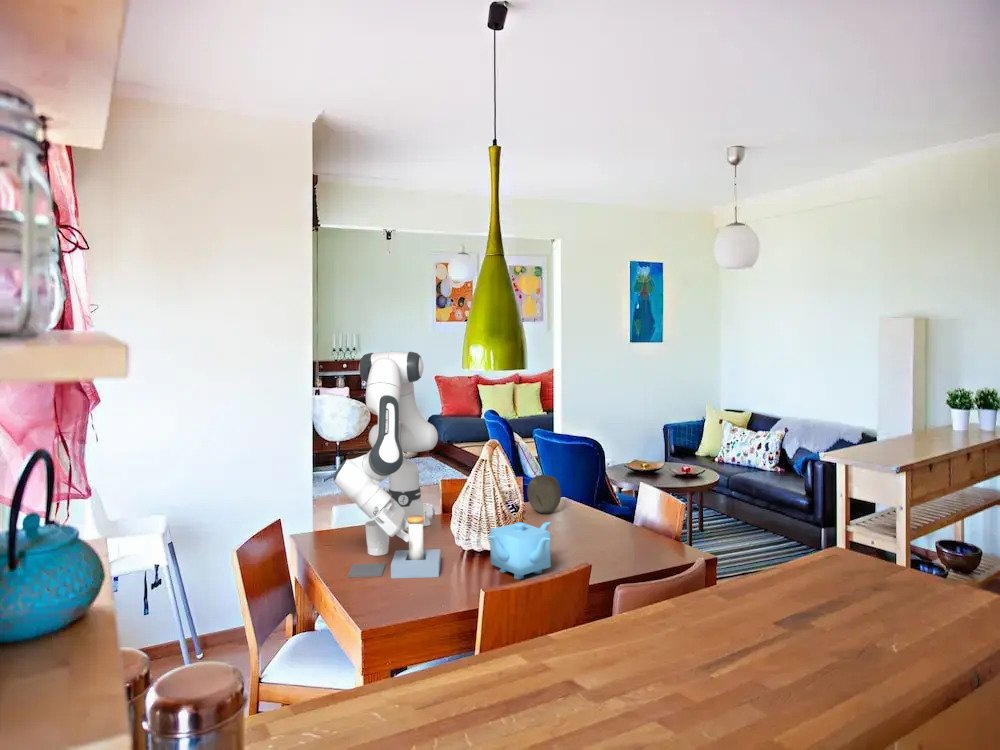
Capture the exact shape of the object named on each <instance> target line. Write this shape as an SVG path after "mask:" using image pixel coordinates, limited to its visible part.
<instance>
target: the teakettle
mask: <svg viewBox="0 0 1000 750" xmlns="http://www.w3.org/2000/svg"><path fill="white" fill-rule="evenodd" d="M551 523H552V521H546V522H544V523H542V525H540V527H536V526H534V525H531V524H528V523H525V522H520V521H518V522H515V523H511V524H507V525H502V526H498V527H495V528H490V531H489V533H490V535H487V536H486V538H488V539H490V541H489V543H490V544H489V545H490V564H491V565H492V566H495V567H496V568H499V570H498V572H499V573H501V574H502V573H505V574H506V573H509V572H510V573H512V574H513V578H514V579H516V580H521V579H524V578H525V575H528V574H531V573H533V574H536V575H538V574H542V573H543V571H542V570H546V569H549V568H551V566H552V565H551V563H552V562H551V532H550V530H547V529H548V527H549V526H550V524H551Z"/></svg>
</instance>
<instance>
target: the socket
mask: <svg viewBox="0 0 1000 750" xmlns="http://www.w3.org/2000/svg"><path fill="white" fill-rule="evenodd" d="M441 554H442V553H441V549H439V548H437V549H436V548H433V549H424V560H409V549H405V550H404V549H401V550H400V549H399V550H398V549H396V550H395V552H394V555H393V558H392V560H391V563H390V579H411V578H412V579H414V578H417V579H418V578H420V579H422V578H439V577H440V571H441V562H442V561H441V556H442V555H441Z"/></svg>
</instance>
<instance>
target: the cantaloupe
mask: <svg viewBox="0 0 1000 750" xmlns="http://www.w3.org/2000/svg"><path fill="white" fill-rule="evenodd" d="M526 493H527V494H526V496H527V500H528V501H529V505H530V507H532V508H533V509H534V510H535V511H536V512H538V513H541V514H542V515H543V514H544V515H548V514H551V513H553V512H554V511H555V510H556V509H557V508H558V507H559V504H560V502H561V498H562V491H561V485H560V483H559V481H558V480H557V479H556V477H554V476H552V475H547V474H540V475H537V476H534V477H533V478H532V479H531V480H530V481H529V483H528V485H527V489H526Z"/></svg>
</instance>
